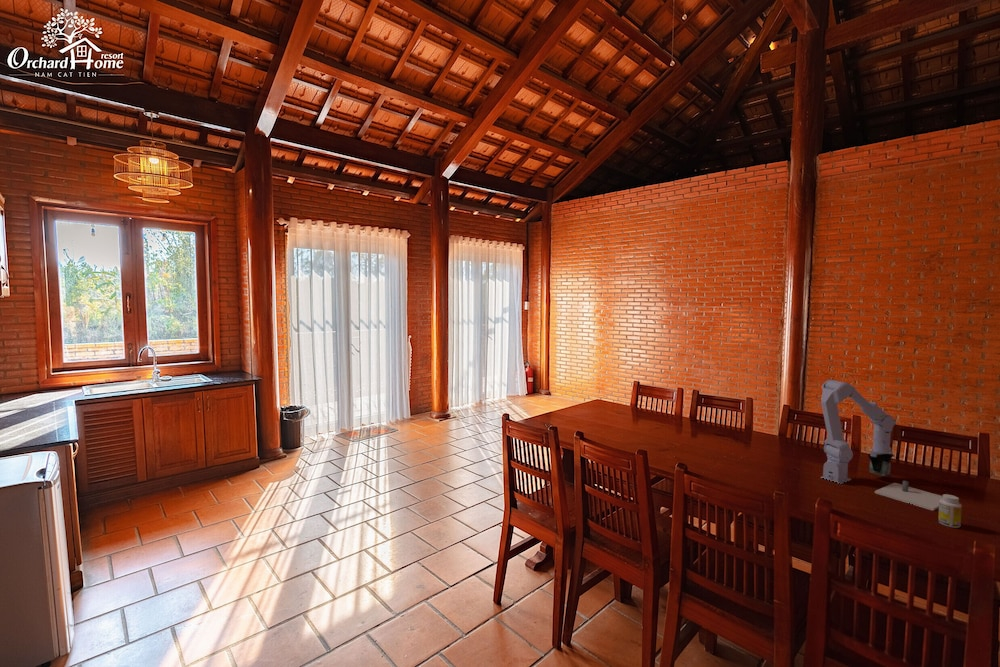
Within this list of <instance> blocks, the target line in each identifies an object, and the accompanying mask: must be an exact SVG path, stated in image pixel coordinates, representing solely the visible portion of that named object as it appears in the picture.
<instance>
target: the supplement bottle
mask: <svg viewBox="0 0 1000 667" xmlns="http://www.w3.org/2000/svg"><path fill="white" fill-rule="evenodd" d="M942 496H943V499H941V500H940V501H939V508H938V523H939V524H941V525H942V526H944V527H949V528H953V529H958V528H960V527H961V525H962V523H961V522H962V510H963V509H962V508H963V505H962V504H961V503H960V502H959V501H960V498H959V497H957V496H956V495H952V494H948V493H945V494H942Z"/></svg>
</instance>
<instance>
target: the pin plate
mask: <svg viewBox="0 0 1000 667" xmlns="http://www.w3.org/2000/svg"><path fill="white" fill-rule="evenodd" d="M909 483H910V482H909V481H907V480H902V484H901V483H897V482H893V483H890V484H887V485H886V486H883V487H881V488H878V489H876V490H875V491H874V494H876V495H880V496H883V497H887V498H890V499H893V500H896V501H899V502H903V503H907V504H909V503H910V505H912V504H913V506H916V507H918V508H919V507H920V508H923V509H926V510H929V511H936V510H938V509H939V501H940V500H941V499H943V495H940V494H937V493H932V492H929V491H926V490H922V489H918V488H915V487H912V486H909Z"/></svg>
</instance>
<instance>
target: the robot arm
mask: <svg viewBox="0 0 1000 667" xmlns="http://www.w3.org/2000/svg"><path fill="white" fill-rule="evenodd" d="M821 390H822V392H821V393H822V394H821V398H820V403H821V408H822V409H821V410H822V414H823V418H824V419H823V420H824V424H825V428H826V434H827V438H826V439H825V440H823V441H824V446H823V451H824V453H825V454H826V457H827V461H825V463H823V468H822V469H823V471H822V476H820V479H822V478H824V480H826V479H827V481H829V480H830V481H829V482H832V481H834V483H835V482H837V483H836V484H839V483H840V485H842V484H845V483H847V481H848V482H849V481H852V478H850V477H848V467H849V462H850V461H851V460H852V459H853V456H854V453H853V450H852V449H851V448H850V444H849V443H848V442H847V441H846V440H845V438H844V434H843V428H842V423H841V418H840V413H839V409H838V408H839V407H838V404H840V403H841V402H844V400H846V399H847V398H849V399H850V400H852V401H853V402H854V403H856V404H857V405H858V406H860V411H861V412H862V413H864V414H865V415H866V416H867V417H868V418H869V419H870V422H871V424H873V434H872V440H873V441H872V448H871V451H870V453H868V455H867V457H868V458H869V460H870V461H871V463H872V466H873V470H874V471H877V472H880V470H881V466H882V463H883V461H884V462H888V463H890V460H891V459H892V458H893V457H894V452H893V451H892V447H891V434H892V433H891V432H892V431H893V427H894V426H896V421H895V418H894V417H893V415H890V414H887V413H886V411H885V410H884V409H882V408H880V406H878V403H877V402H875V401H868V400H867V399H866V398H865V397H864V396H863V395H862V394H861V393H860V392H858V390H857V389H856V387H855V386H853V385H852V384H850V383H849V382H843V381H839V380H836V379H832V378H830V379H828V380H827V379H826V381H825V382H824V383H823V384H822V385H821ZM844 482H845V483H844Z"/></svg>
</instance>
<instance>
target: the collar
mask: <svg viewBox="0 0 1000 667" xmlns="http://www.w3.org/2000/svg"><path fill="white" fill-rule="evenodd" d="M868 471H869V473H872V474H874V475H879V476H882V477H887V476H889V475H890V474H891V462H889V463H888V462H884V461H883V463H882V466H881V470H880V472H877V471H874V470H873V466H872V463H871V460H870V461H869V470H868Z"/></svg>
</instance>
